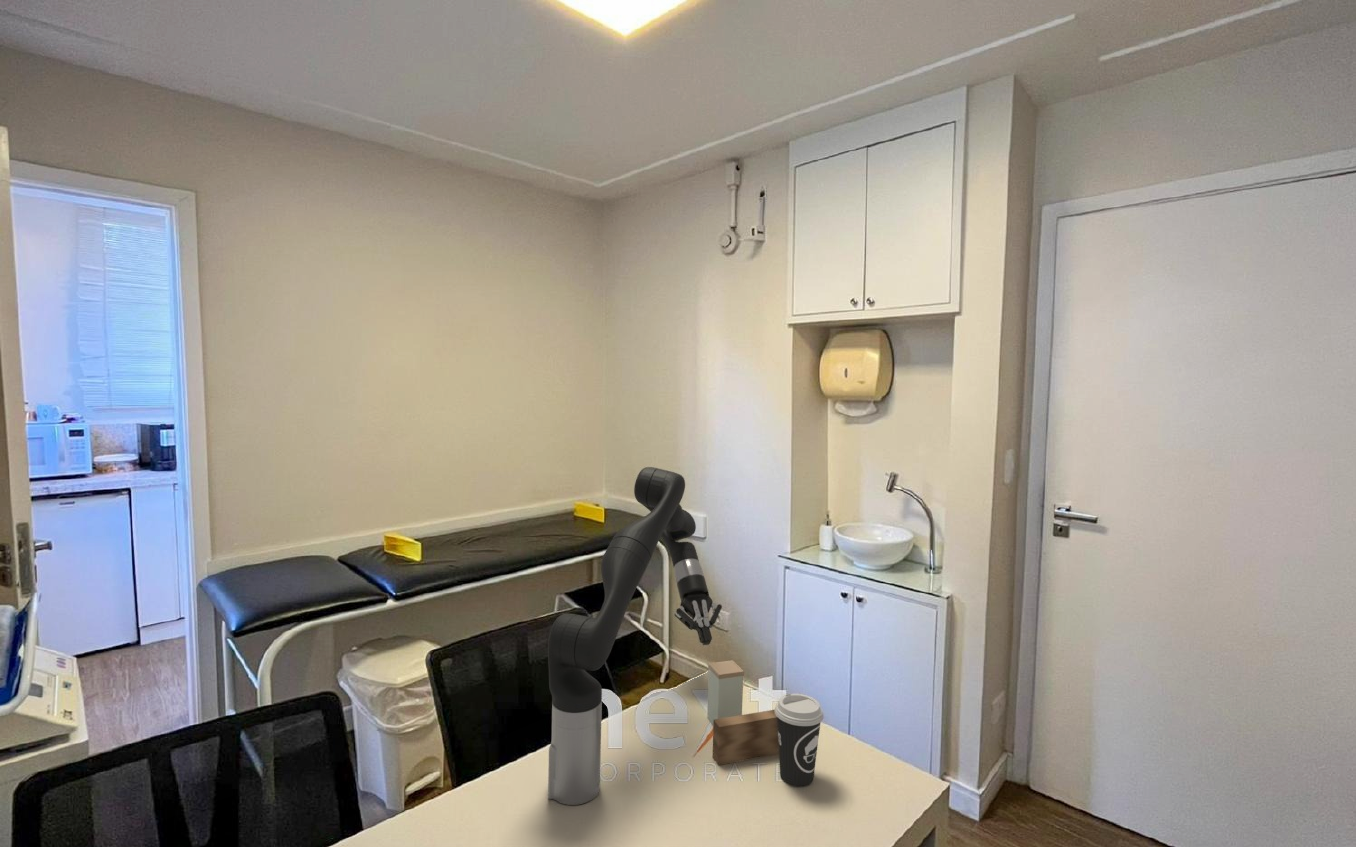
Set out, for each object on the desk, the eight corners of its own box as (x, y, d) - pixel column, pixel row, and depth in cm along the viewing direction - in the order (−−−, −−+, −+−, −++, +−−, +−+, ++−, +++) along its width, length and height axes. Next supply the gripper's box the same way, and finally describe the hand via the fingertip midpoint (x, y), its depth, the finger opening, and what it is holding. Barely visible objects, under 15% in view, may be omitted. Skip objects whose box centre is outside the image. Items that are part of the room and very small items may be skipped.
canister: (717, 731, 140) (718, 674, 140) (706, 717, 146) (708, 663, 146) (742, 727, 142) (743, 671, 142) (730, 713, 148) (732, 660, 148)
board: (718, 765, 127) (719, 726, 127) (712, 757, 130) (713, 719, 130) (787, 751, 133) (788, 715, 133) (780, 744, 136) (781, 708, 135)
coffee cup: (813, 762, 129) (816, 691, 129) (827, 791, 120) (830, 715, 119) (767, 763, 129) (770, 691, 128) (778, 792, 119) (780, 715, 118)
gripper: (670, 575, 160) (686, 640, 149) (717, 571, 165) (736, 634, 154) (663, 589, 165) (677, 653, 154) (709, 585, 170) (726, 647, 159)
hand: (707, 643), depth 154 cm, fingers closed
